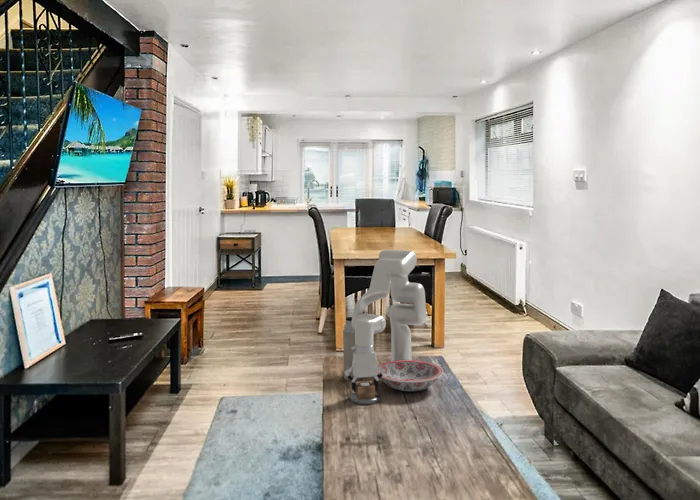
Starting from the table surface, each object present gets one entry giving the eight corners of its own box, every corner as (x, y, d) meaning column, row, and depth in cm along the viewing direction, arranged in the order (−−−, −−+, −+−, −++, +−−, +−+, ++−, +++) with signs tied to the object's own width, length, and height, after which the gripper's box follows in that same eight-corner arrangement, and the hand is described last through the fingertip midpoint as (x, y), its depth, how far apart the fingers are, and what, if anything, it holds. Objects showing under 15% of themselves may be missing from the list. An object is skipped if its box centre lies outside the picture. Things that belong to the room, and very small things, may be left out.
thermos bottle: (361, 374, 262) (360, 315, 259) (361, 380, 254) (360, 319, 252) (344, 374, 263) (343, 315, 260) (343, 380, 255) (342, 319, 252)
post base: (348, 395, 236) (348, 380, 235) (376, 393, 238) (376, 378, 237) (352, 406, 224) (352, 390, 224) (382, 403, 226) (382, 388, 225)
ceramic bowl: (446, 379, 254) (446, 362, 253) (438, 403, 226) (438, 383, 225) (383, 374, 262) (382, 358, 261) (368, 397, 234) (368, 378, 233)
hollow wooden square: (358, 399, 227) (358, 387, 227) (355, 393, 234) (355, 381, 233) (375, 398, 228) (375, 386, 228) (372, 392, 235) (371, 380, 234)
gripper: (344, 352, 224) (345, 394, 226) (387, 350, 226) (387, 392, 228) (342, 347, 231) (342, 388, 233) (383, 345, 234) (383, 385, 236)
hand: (365, 390), depth 231 cm, fingers open, 8 cm apart
